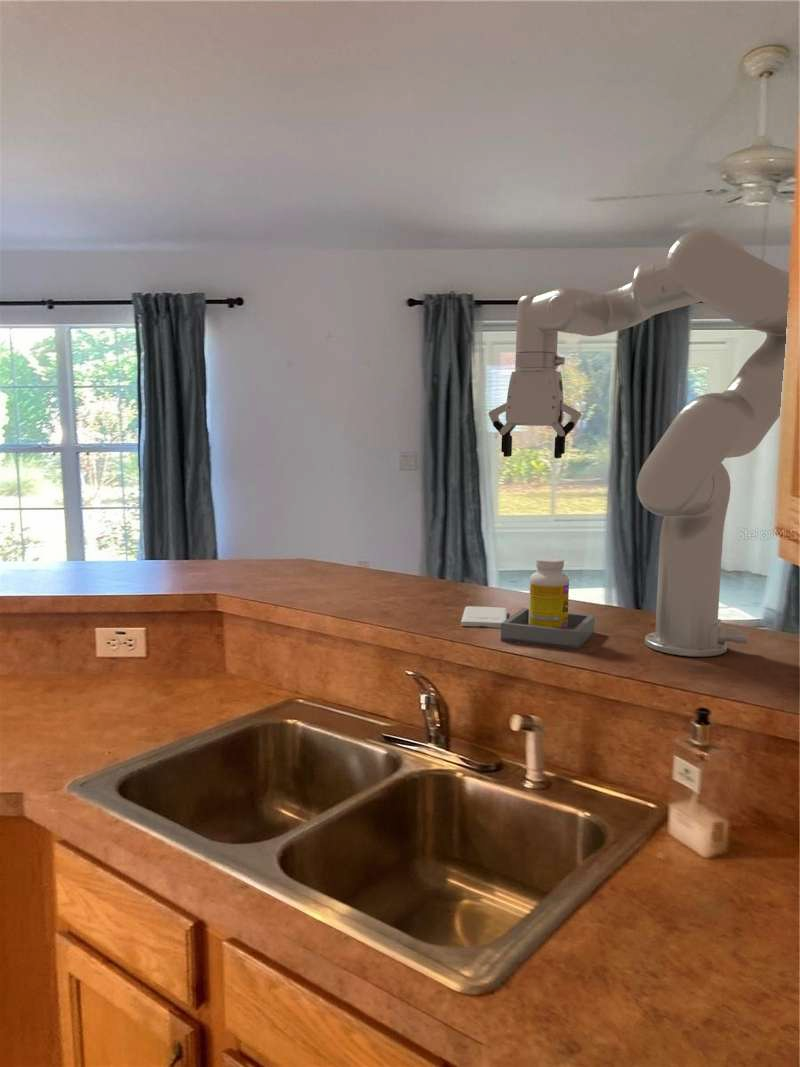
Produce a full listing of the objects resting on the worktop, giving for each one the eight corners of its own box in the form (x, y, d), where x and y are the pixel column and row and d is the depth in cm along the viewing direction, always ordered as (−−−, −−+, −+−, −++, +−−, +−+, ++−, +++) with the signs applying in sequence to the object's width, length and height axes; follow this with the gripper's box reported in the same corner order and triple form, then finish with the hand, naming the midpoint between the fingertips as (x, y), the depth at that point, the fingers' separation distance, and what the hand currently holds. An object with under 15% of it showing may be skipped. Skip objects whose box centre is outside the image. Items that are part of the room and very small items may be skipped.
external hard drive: (507, 615, 153) (506, 631, 141) (465, 614, 154) (460, 629, 142) (507, 607, 153) (506, 622, 140) (465, 605, 154) (460, 620, 142)
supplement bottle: (567, 638, 131) (570, 563, 129) (527, 636, 132) (529, 561, 131) (567, 629, 137) (569, 556, 136) (529, 627, 139) (530, 555, 137)
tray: (594, 632, 138) (594, 615, 137) (577, 650, 126) (578, 631, 126) (522, 624, 143) (523, 608, 143) (500, 640, 132) (501, 623, 131)
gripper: (587, 365, 144) (582, 458, 146) (496, 366, 151) (494, 455, 153) (578, 361, 137) (574, 459, 140) (484, 363, 144) (482, 456, 147)
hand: (532, 457), depth 146 cm, fingers open, 9 cm apart
